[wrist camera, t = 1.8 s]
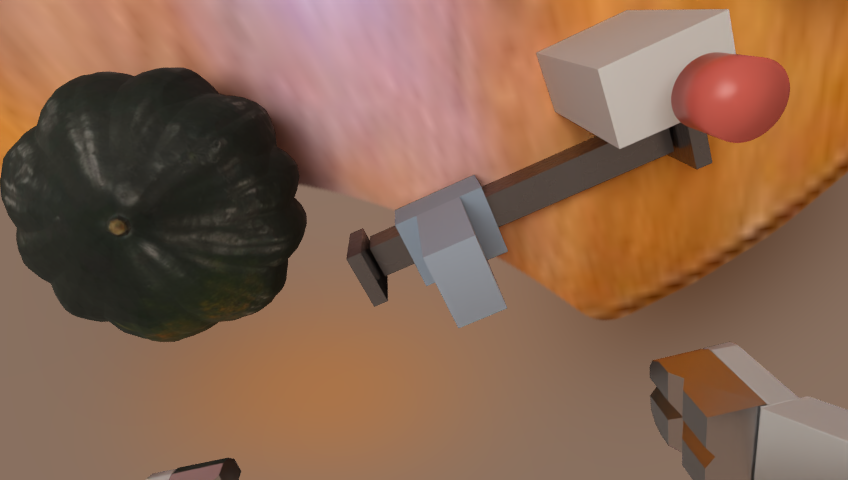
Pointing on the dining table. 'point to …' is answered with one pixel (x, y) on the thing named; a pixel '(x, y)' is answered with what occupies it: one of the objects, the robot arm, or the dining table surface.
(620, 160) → the rail
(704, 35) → the cabinet
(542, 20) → the dining table surface
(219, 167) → the squash
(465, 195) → the block
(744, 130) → the button
